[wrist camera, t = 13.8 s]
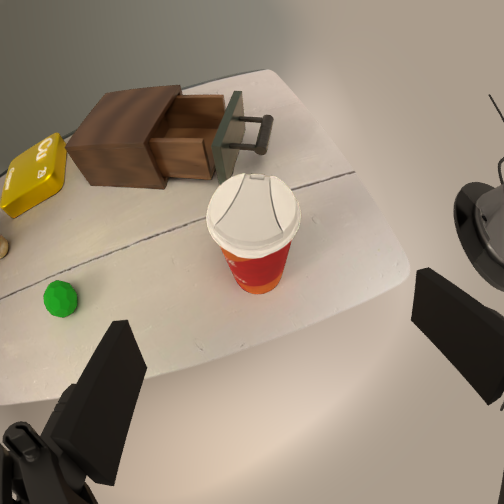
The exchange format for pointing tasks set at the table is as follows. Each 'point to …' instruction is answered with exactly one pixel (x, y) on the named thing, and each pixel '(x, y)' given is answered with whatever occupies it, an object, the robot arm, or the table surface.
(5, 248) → the decorative mushroom
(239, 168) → the table surface
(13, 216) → the element tile
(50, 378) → the table surface
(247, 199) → the paper cup
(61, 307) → the polyhedron
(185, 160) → the drawer
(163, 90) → the cabinet
